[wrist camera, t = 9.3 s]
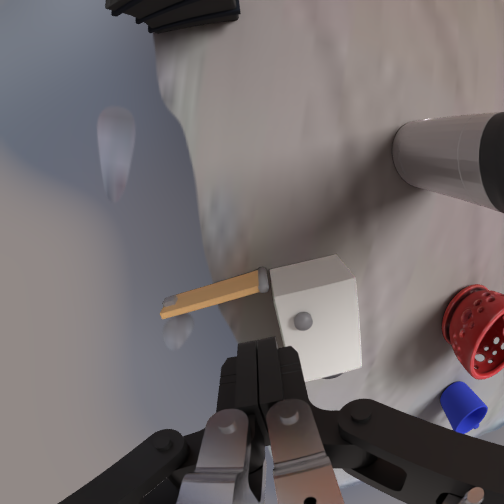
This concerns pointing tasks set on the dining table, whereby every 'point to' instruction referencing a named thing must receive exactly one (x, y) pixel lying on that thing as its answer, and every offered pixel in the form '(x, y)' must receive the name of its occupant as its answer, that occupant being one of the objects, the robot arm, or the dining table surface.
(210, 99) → the dining table surface
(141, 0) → the black ridged block
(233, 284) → the tan wooden plank
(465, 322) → the plant pot
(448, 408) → the mug
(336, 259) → the camera body
